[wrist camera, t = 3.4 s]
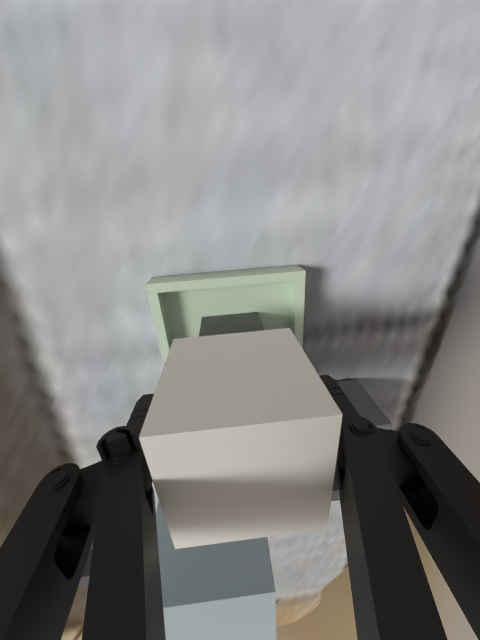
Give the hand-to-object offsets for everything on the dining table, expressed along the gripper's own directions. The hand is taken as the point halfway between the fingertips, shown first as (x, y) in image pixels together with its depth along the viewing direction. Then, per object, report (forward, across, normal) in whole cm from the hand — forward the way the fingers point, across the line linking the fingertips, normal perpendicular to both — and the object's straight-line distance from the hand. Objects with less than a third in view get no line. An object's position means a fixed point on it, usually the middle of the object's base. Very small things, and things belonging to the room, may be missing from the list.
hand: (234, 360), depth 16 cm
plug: (+3, 0, 0) cm, 3 cm away
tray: (+3, 0, 0) cm, 3 cm away
